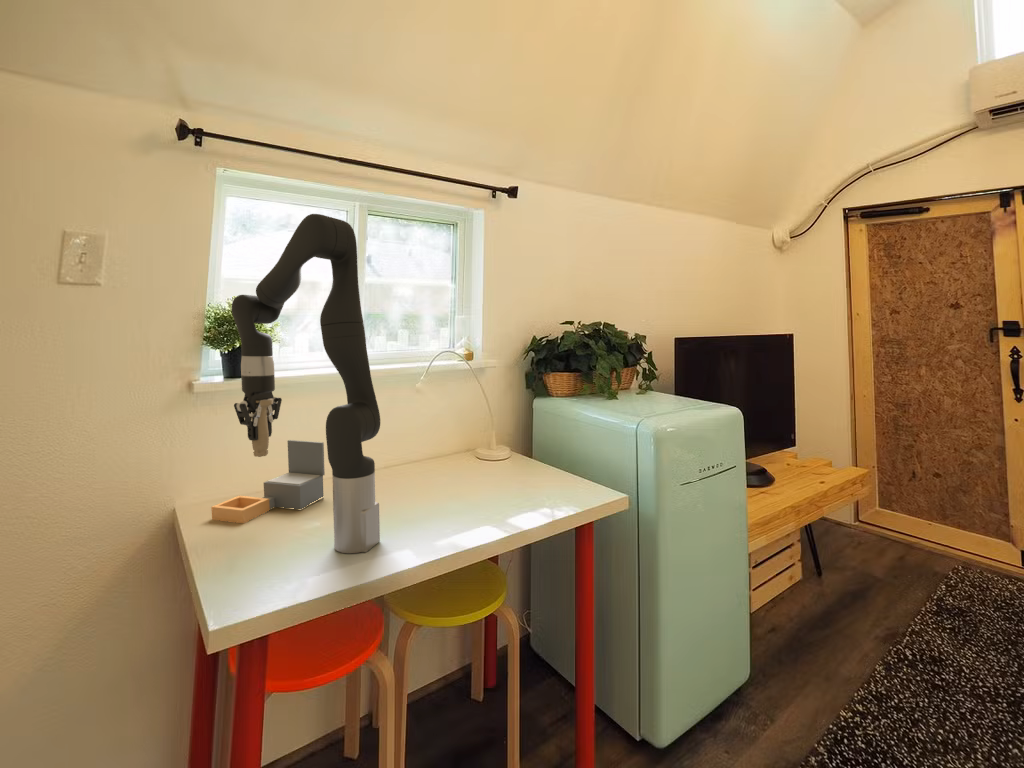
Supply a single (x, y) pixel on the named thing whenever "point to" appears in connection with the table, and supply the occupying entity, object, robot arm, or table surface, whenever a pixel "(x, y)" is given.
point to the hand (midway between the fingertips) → (260, 438)
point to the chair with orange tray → (282, 486)
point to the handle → (262, 430)
